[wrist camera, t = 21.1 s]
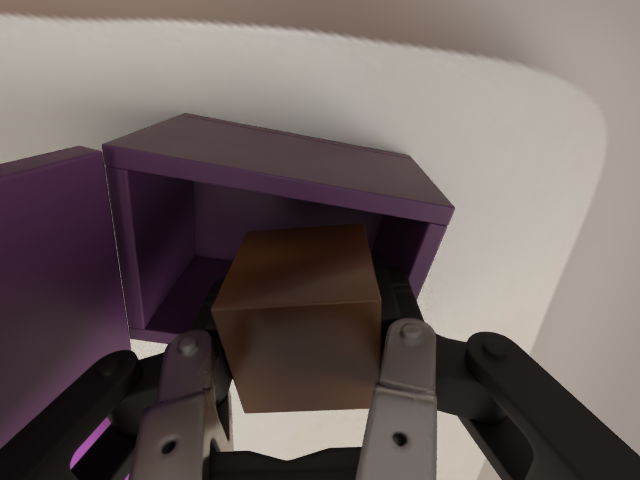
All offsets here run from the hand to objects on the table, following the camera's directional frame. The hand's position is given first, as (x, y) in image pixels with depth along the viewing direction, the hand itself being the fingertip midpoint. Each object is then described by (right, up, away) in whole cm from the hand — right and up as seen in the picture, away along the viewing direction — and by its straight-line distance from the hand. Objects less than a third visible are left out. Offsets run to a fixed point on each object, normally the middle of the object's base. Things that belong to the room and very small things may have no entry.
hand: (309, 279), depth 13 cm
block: (0, 0, 0) cm, 0 cm away
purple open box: (-1, +3, +5) cm, 6 cm away
